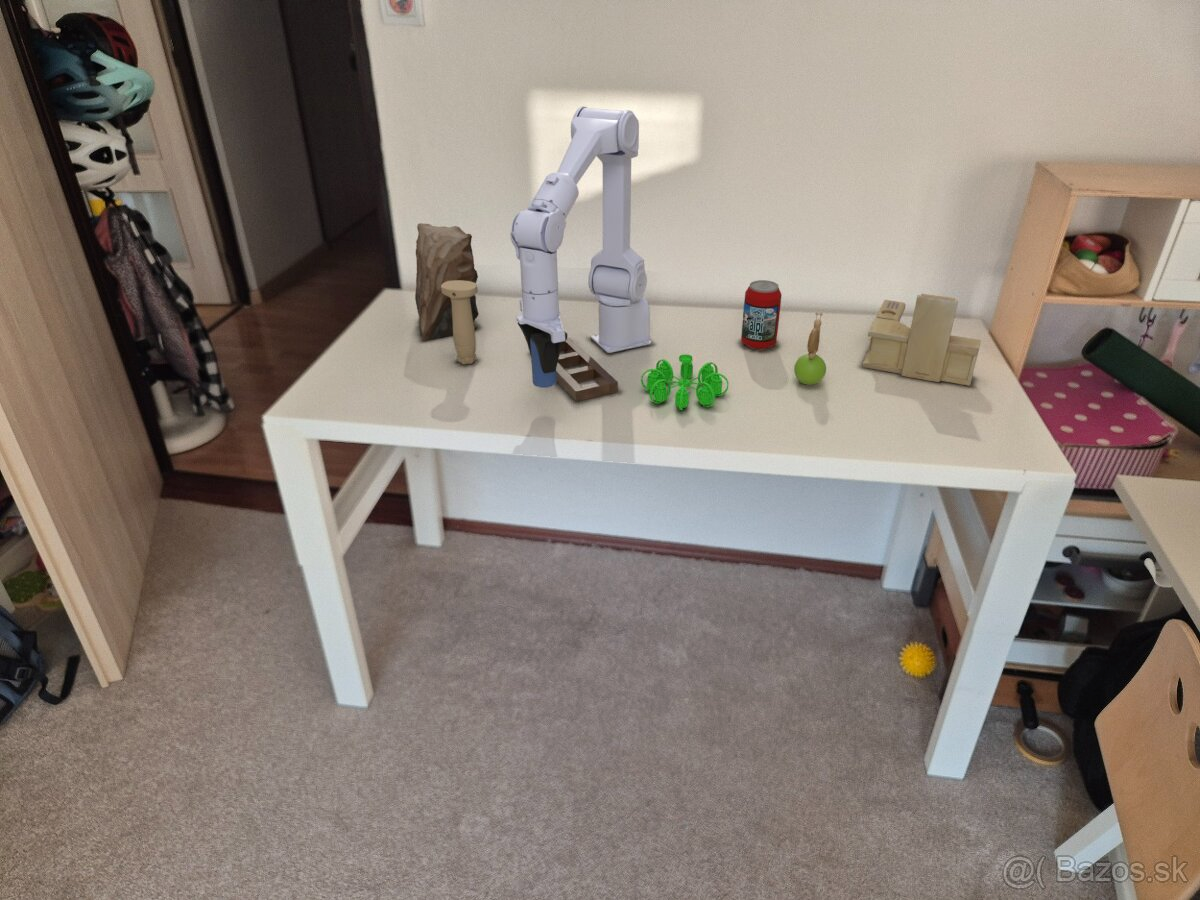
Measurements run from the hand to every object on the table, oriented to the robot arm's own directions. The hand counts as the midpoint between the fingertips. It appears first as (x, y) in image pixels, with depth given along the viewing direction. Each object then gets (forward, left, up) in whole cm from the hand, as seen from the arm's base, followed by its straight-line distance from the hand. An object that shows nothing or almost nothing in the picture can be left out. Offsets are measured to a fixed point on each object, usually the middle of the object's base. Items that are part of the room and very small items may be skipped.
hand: (543, 366), depth 138 cm
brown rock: (+7, -39, -8) cm, 40 cm away
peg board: (-9, -9, -7) cm, 15 cm away
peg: (0, 0, -3) cm, 3 cm away
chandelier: (-23, +7, -8) cm, 25 cm away
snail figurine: (-45, +13, -8) cm, 47 cm away
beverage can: (-46, -4, -8) cm, 47 cm away
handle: (+7, -22, -8) cm, 24 cm away
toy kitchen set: (-69, +15, -8) cm, 71 cm away
